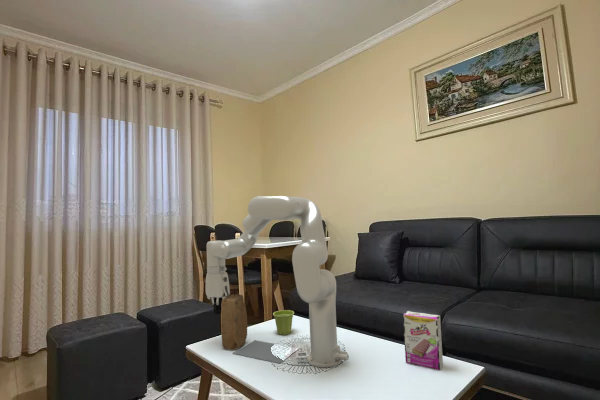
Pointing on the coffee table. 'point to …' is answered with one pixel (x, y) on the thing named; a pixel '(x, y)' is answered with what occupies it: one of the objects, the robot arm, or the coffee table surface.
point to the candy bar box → (423, 340)
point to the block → (233, 322)
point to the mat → (259, 351)
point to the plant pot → (283, 321)
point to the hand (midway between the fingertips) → (217, 313)
